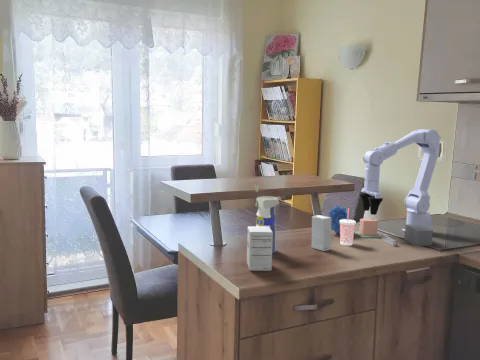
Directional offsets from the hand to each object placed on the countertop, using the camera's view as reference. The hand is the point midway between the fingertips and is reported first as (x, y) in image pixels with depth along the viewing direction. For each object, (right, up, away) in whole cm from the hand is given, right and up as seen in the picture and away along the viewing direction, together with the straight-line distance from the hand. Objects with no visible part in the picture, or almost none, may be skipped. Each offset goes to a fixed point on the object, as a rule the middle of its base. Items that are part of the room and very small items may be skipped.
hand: (369, 212), depth 188 cm
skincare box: (-24, -12, -21) cm, 34 cm away
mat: (0, -9, +1) cm, 9 cm away
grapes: (-12, -9, +1) cm, 16 cm away
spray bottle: (-45, -12, -25) cm, 53 cm away
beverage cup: (-13, -11, -13) cm, 22 cm away
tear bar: (+4, -11, -10) cm, 16 cm away
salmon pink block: (-1, -9, +1) cm, 9 cm away
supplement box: (-48, -15, -42) cm, 65 cm away
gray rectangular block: (+16, -11, -9) cm, 22 cm away
